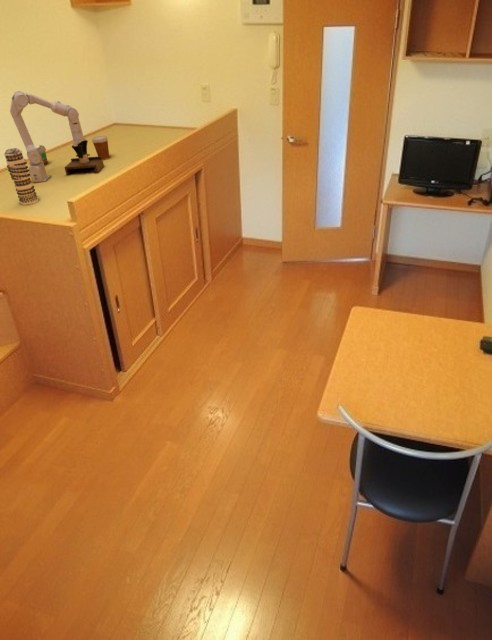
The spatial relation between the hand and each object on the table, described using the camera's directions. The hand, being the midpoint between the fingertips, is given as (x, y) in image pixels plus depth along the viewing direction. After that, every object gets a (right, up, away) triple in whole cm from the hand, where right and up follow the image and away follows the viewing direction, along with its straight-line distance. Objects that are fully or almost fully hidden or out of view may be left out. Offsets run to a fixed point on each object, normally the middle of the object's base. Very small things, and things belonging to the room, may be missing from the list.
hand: (83, 156), depth 274 cm
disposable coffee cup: (+5, +6, +23) cm, 24 cm away
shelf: (+1, -7, +3) cm, 8 cm away
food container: (-31, +2, +21) cm, 37 cm away
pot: (0, -3, +2) cm, 3 cm away
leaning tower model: (-15, -34, -35) cm, 51 cm away
